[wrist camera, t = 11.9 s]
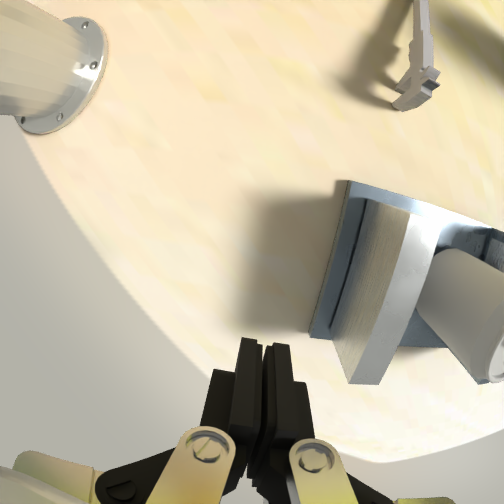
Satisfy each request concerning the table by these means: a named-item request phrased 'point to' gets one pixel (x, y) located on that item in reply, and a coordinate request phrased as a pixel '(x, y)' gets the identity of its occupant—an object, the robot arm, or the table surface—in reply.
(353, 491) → the robot arm
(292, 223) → the table surface
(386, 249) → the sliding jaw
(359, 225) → the vise
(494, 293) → the can
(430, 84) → the caliper
